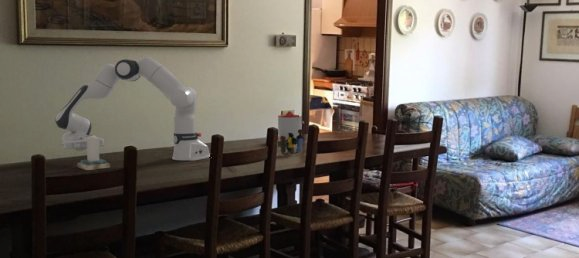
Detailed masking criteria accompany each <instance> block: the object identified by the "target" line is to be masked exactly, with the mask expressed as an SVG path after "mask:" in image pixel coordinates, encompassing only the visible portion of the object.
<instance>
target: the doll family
mask: <svg viewBox="0 0 579 258" xmlns="http://www.w3.org/2000/svg"><path fill="white" fill-rule="evenodd" d="M304 132H305V131H304V130H303V129H302V128H301V129H299V130H298V133H299V135H298V136H297V137H296V138H295V137H294V135H293V133H288V134H289V135H288V136H289V138H288V139H287V140H285V139H286V137H285V136H281V137H279V139H280V138H281V140H282V141H281V140H280V142H278V145H279V146H280V154H279V156H281V157H284V156H285V155H286V154H288V156H294V155H296V154H295V153H302V152H303V148H302V146H303V141H304V140H305V139H306V138H305V137H304V135H303V133H304ZM295 146H296V151H295ZM286 150H287V151H286ZM285 153H286V154H285Z"/></svg>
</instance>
